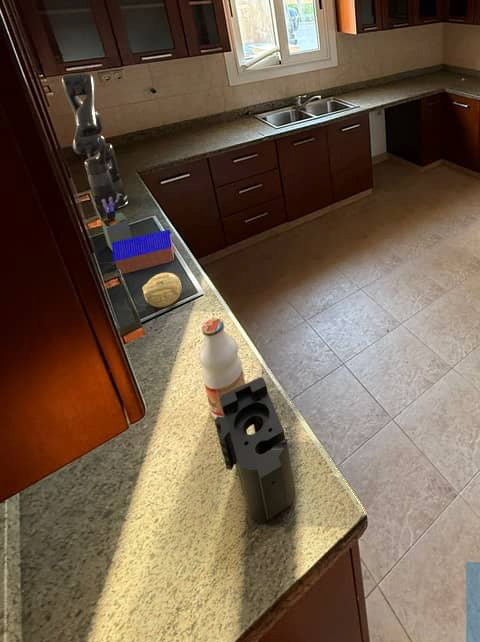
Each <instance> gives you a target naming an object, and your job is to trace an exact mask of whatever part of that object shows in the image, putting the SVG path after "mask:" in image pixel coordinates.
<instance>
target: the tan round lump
mask: <svg viewBox="0 0 480 642" xmlns="http://www.w3.org/2000/svg"><path fill="white" fill-rule="evenodd" d="M182 290H183V289H182V282H181V280H180V278H179V277H178V276H177V274H174V273H172V272H160V273H158V274H155V275H154V276H153V277H151V278H150V279H149V280H148V281H147V283H145V284H144V285H143V286H142V291H143V296H144V299H145V301H146V303H148V304H150V305H151V306H152V307H155V308H165V307H168V306H170V305H172V304H174V303H176V301H177V300H178V299H179V298H180V296H181V293H182Z"/></svg>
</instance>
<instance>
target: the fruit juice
mask: <svg viewBox="0 0 480 642" xmlns="http://www.w3.org/2000/svg"><path fill="white" fill-rule="evenodd" d="M201 332H202V335H203V336H204V342H203V344H202V346H201V347H200V349H199V352H198V362H199V364H200V366H201V367H202V369H201V375H202V381H203V385H204V389H205V393H206V398H207V400H208V406H209V410H210V414H211V416H212V417H213V419H214V420H215V419H216V418H217V416H218V417H223V416H224V414H223V410H222V406H221V401H220V398H221V396H222V395H224V394H226V393H228V392H230V391H232V390H234V389H236V388H238V387H240V386H242V385H244V384H246V380H245V375H244V370H243V364H242V360H241V358H240V356H239V354H238V353H239V351H238V350H239V347H238V343H237V341H236V339H235V338H234V337H232V335H229V334H228V333H227V332H226V331H225V324H224V321H223V320H222V319H221V318H217V317H215V318H211V319H209V320H207V321H206V322H204V324H202V328H201Z"/></svg>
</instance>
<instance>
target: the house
mask: <svg viewBox="0 0 480 642" xmlns="http://www.w3.org/2000/svg"><path fill="white" fill-rule="evenodd" d="M171 233H172V232H171V230H170V229H166V230H161V231H156V232H152V233H148V234H144V235H138V236H135V237H132V238H130V239H126V240H121V241H117V242H113V243H112V249H113V251H112V258H113V262H115V266H116V270H117V269H120V270H121V271H122V274H121V275H124V274H128V273H132V272H137V271H141V270H144V269H149V268H152V267H156V266H159V265H163V264H167V263H171V262H175V252H174V251H175V250H174V243H173V239H172V235H171Z"/></svg>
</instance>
